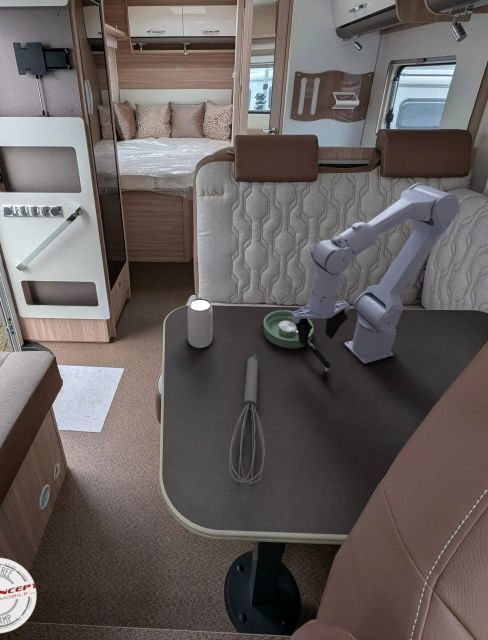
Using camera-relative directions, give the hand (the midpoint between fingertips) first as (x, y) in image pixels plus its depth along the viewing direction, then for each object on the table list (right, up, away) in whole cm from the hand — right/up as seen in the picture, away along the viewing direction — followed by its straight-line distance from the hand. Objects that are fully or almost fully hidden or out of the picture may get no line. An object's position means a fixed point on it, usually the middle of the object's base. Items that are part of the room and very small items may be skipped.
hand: (315, 339), depth 88 cm
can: (-28, -3, +10) cm, 30 cm away
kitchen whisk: (-18, -14, -11) cm, 25 cm away
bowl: (-4, -1, +13) cm, 14 cm away
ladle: (-2, -4, +7) cm, 8 cm away
